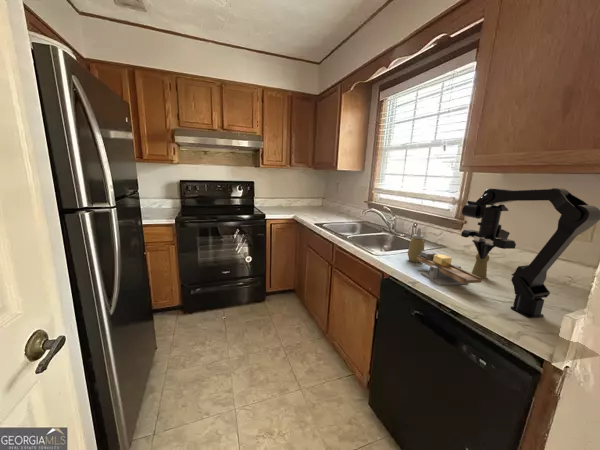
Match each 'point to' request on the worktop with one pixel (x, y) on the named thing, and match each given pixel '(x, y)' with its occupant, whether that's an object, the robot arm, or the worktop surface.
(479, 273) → the cork
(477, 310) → the worktop surface
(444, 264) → the block
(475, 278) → the balance beam
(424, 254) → the counterweight
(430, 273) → the pivot stand
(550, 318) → the worktop surface
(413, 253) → the squeeze bottle
